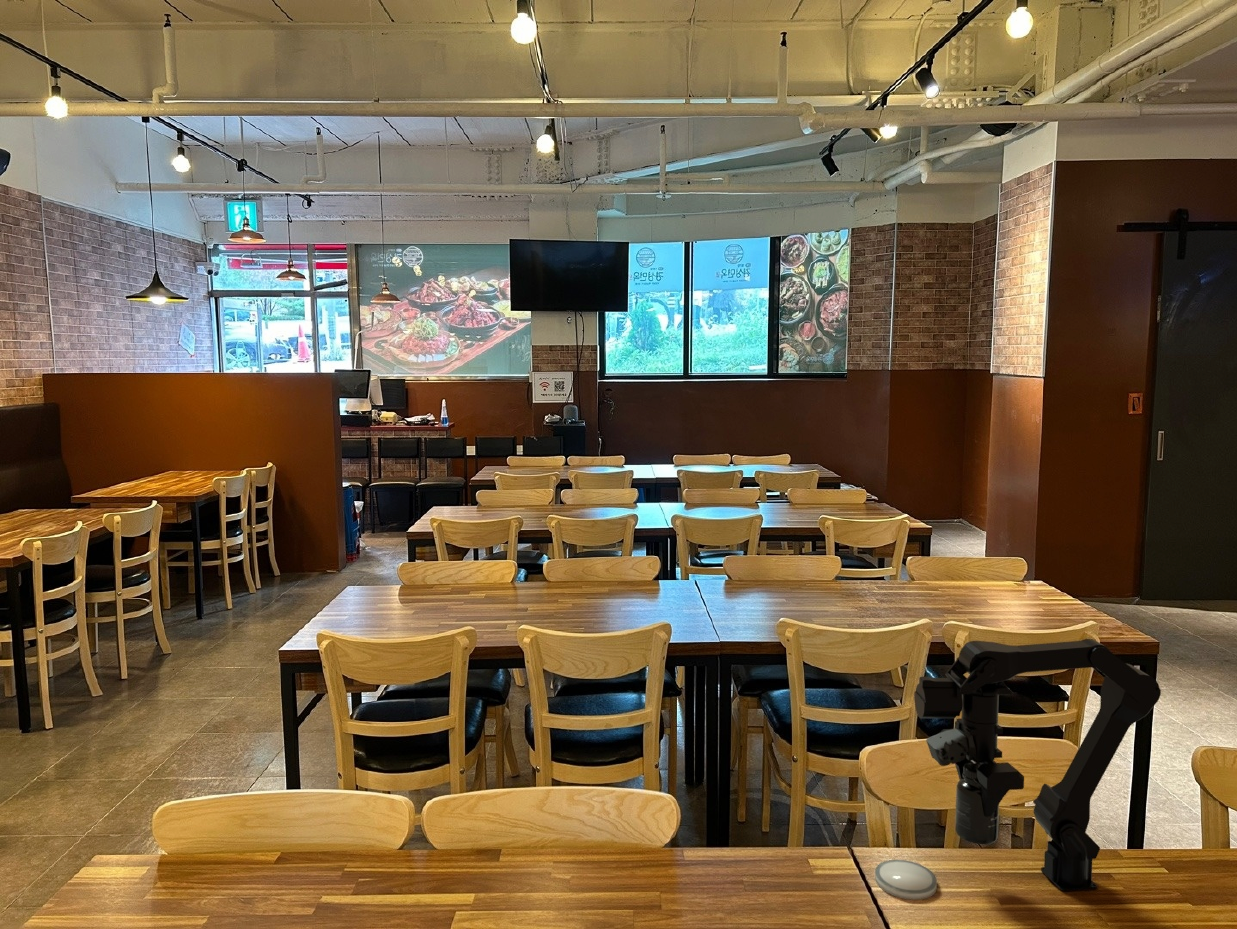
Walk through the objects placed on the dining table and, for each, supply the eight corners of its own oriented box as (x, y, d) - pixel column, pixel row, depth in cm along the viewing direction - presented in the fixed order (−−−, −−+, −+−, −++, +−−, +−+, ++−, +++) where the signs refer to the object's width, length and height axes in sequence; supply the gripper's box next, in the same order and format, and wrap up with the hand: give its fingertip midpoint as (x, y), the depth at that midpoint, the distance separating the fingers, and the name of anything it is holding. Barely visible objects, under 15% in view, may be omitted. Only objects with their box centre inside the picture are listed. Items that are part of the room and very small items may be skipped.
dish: (921, 864, 152) (921, 858, 152) (947, 898, 142) (947, 890, 142) (866, 867, 152) (866, 861, 151) (888, 901, 142) (888, 894, 141)
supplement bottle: (1002, 847, 143) (1004, 778, 142) (959, 844, 145) (960, 775, 143) (992, 827, 150) (995, 761, 149) (951, 823, 151) (953, 758, 150)
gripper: (910, 699, 154) (908, 783, 155) (959, 742, 136) (957, 836, 137) (970, 697, 155) (968, 780, 156) (1027, 739, 136) (1024, 833, 138)
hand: (977, 806), depth 147 cm, fingers closed on supplement bottle, 7 cm apart
